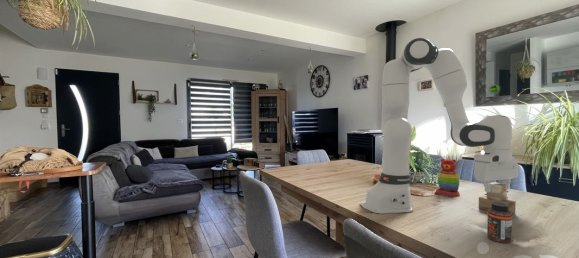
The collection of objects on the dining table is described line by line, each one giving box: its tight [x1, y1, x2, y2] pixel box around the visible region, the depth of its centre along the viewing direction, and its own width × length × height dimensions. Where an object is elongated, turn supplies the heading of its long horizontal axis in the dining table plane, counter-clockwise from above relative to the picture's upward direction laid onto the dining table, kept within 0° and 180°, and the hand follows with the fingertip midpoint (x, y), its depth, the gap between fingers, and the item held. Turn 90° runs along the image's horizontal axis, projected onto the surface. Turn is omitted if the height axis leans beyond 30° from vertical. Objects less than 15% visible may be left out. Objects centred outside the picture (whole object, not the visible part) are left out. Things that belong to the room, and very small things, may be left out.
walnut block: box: [478, 195, 517, 215], centre depth 103 cm, size 7×9×5 cm
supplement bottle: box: [486, 202, 513, 244], centre depth 82 cm, size 6×6×11 cm
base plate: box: [470, 206, 524, 218], centre depth 103 cm, size 12×12×1 cm
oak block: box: [486, 181, 508, 201], centre depth 103 cm, size 4×4×6 cm
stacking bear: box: [434, 158, 461, 198], centre depth 132 cm, size 11×10×18 cm
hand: (496, 190), depth 103 cm, fingers open, 8 cm apart
